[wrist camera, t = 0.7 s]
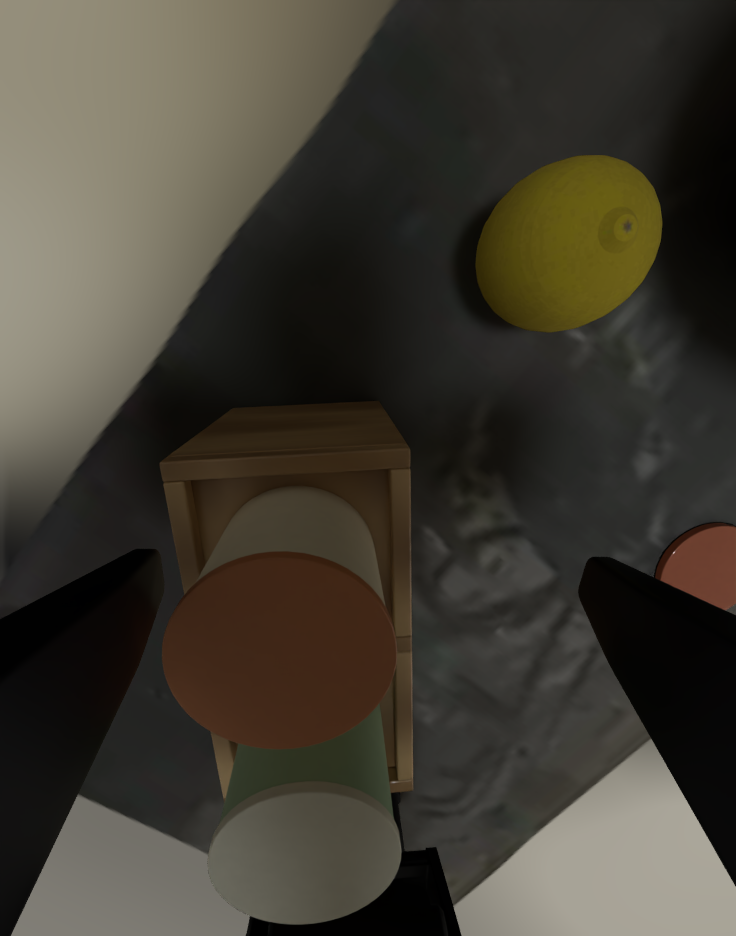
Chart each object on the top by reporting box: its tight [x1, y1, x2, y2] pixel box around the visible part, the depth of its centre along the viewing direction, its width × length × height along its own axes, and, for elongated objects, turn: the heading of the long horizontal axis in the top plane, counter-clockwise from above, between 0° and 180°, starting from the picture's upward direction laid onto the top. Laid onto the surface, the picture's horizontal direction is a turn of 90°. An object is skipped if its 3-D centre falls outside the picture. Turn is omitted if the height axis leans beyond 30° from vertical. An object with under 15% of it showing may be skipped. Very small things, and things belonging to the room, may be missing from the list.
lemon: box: [475, 155, 662, 332], centre depth 16 cm, size 6×6×8 cm
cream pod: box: [162, 486, 397, 749], centre depth 11 cm, size 5×5×5 cm
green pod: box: [208, 703, 401, 924], centre depth 13 cm, size 5×5×5 cm
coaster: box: [655, 523, 736, 610], centre depth 25 cm, size 6×6×1 cm
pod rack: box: [160, 401, 413, 803], centre depth 18 cm, size 13×7×9 cm, turn 2°
